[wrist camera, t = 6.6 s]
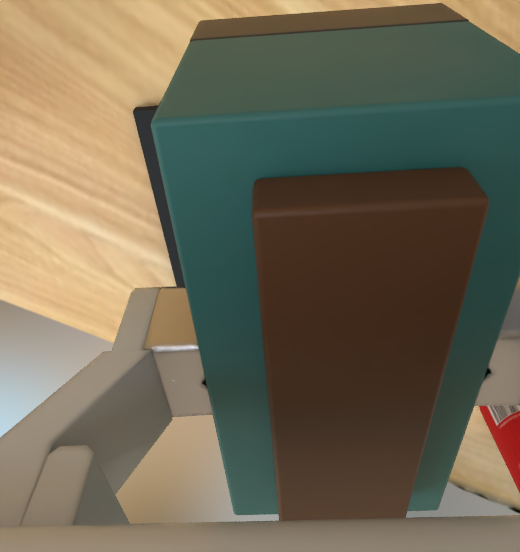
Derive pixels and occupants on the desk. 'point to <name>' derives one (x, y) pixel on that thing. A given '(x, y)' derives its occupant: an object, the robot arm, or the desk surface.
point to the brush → (343, 246)
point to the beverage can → (506, 435)
